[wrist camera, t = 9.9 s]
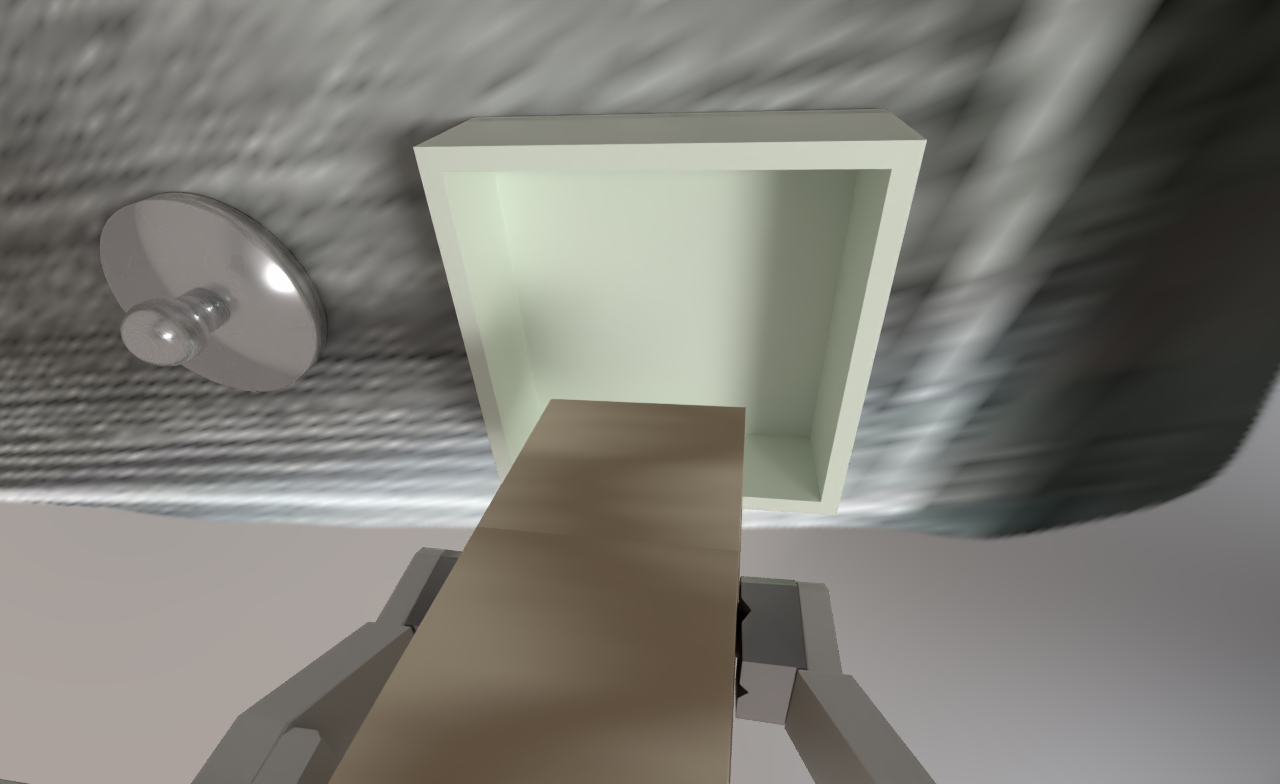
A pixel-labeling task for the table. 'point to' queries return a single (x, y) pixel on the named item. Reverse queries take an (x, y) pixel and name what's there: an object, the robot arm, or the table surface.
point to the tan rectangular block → (581, 615)
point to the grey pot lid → (211, 293)
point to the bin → (679, 271)
